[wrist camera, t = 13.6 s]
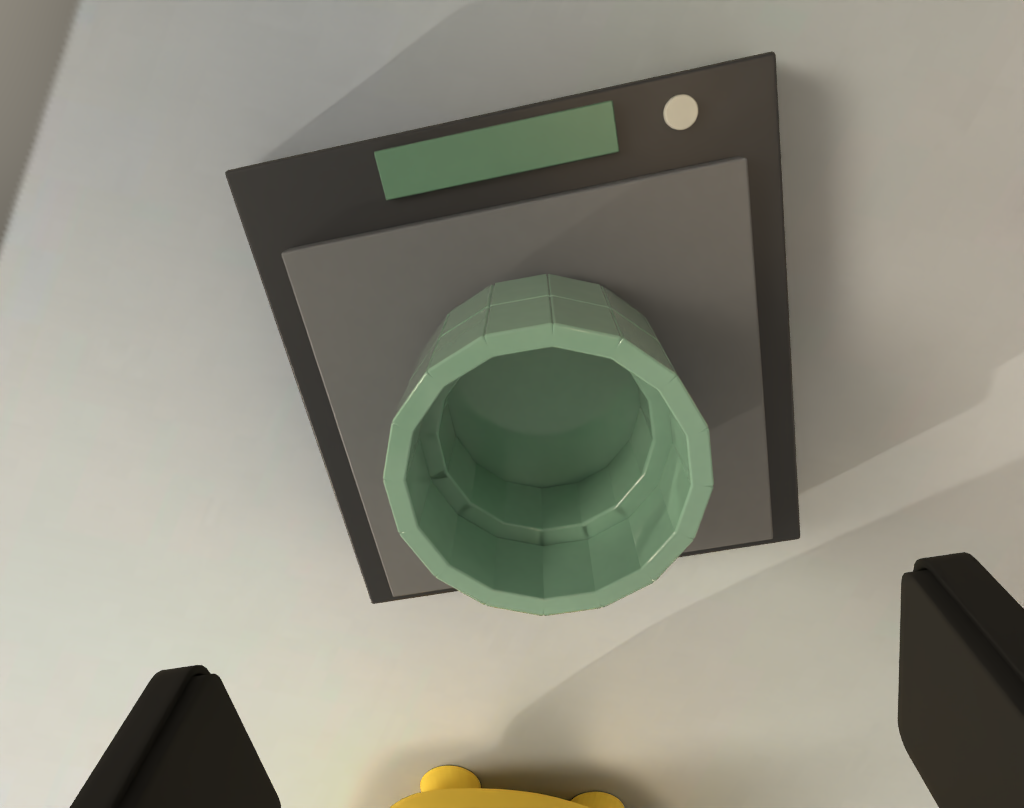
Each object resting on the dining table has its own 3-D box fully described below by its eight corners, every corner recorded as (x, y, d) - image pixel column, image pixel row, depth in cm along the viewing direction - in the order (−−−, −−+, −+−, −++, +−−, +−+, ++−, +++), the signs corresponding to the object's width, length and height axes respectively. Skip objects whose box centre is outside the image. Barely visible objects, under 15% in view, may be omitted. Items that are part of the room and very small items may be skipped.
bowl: (390, 296, 19) (345, 359, 14) (654, 248, 18) (698, 297, 14) (448, 519, 21) (427, 633, 17) (680, 484, 21) (724, 592, 16)
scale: (250, 165, 20) (213, 173, 18) (752, 56, 19) (784, 49, 16) (382, 568, 25) (367, 617, 23) (780, 506, 24) (808, 550, 22)
